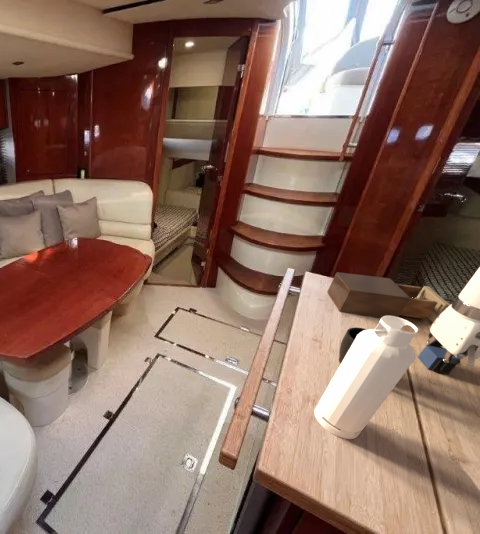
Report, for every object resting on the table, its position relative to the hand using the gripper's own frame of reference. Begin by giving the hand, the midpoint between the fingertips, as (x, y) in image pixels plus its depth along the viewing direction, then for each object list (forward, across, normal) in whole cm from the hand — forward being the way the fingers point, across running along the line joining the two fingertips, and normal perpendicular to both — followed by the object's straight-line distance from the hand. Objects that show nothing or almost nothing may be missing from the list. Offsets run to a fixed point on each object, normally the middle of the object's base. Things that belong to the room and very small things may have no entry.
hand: (433, 363), depth 80 cm
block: (0, 0, 0) cm, 0 cm away
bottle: (+1, -26, +30) cm, 40 cm away
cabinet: (0, +25, +7) cm, 26 cm away
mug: (+1, -8, +20) cm, 22 cm away
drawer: (-1, +25, -7) cm, 26 cm away
